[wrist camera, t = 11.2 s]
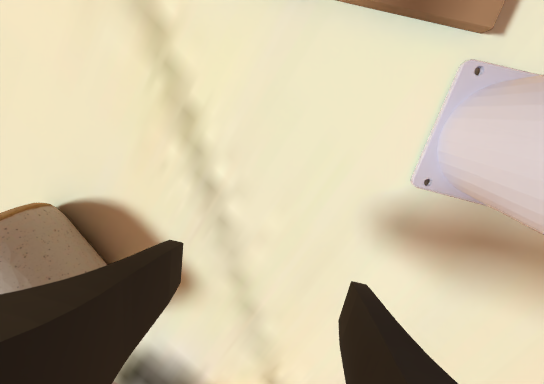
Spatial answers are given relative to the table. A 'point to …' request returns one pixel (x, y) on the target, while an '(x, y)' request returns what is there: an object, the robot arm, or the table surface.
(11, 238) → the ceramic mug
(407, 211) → the table surface
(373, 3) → the plate
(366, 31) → the table surface
